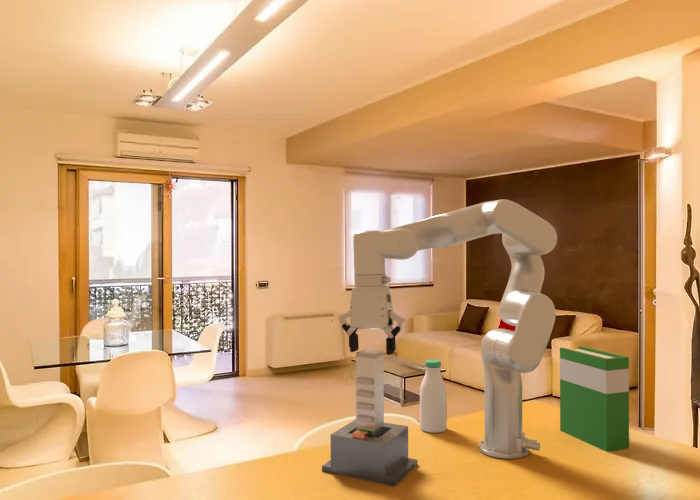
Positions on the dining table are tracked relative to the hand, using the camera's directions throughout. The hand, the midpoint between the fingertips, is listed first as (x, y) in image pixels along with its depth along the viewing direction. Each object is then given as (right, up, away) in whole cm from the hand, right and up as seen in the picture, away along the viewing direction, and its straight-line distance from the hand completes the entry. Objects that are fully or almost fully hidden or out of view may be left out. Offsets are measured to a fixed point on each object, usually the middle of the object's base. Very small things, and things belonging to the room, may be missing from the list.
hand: (372, 352), depth 134 cm
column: (0, -22, 0) cm, 22 cm away
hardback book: (+62, -28, +19) cm, 70 cm away
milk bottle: (+19, -28, +28) cm, 44 cm away
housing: (0, -28, 0) cm, 28 cm away
